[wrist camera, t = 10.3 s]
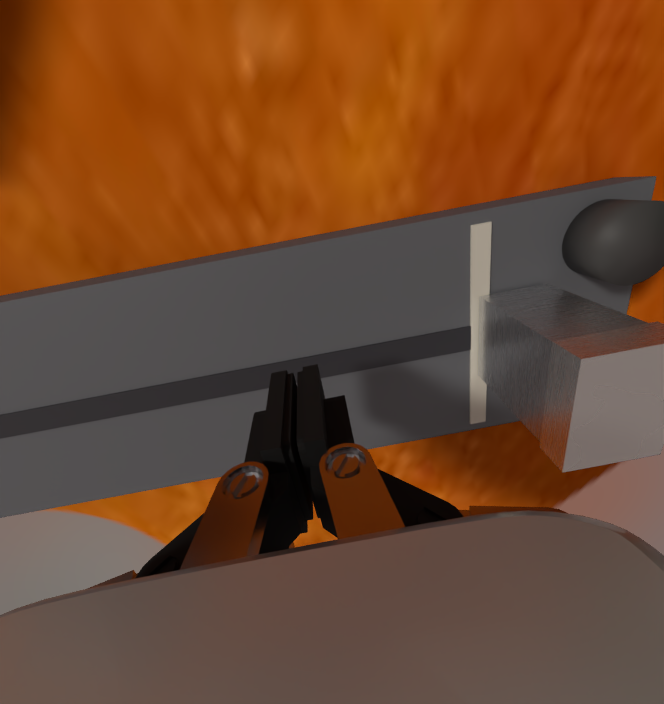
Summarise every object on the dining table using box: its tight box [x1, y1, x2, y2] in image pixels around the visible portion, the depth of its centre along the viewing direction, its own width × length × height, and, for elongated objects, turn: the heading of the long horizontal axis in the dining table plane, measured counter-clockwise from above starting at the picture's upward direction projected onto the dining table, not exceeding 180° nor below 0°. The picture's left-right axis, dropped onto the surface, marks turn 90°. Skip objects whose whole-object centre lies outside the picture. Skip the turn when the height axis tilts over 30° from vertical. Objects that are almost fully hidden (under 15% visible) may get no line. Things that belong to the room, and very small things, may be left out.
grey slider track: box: [0, 176, 664, 518], centre depth 16 cm, size 11×36×4 cm, turn 100°
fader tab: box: [478, 284, 664, 473], centre depth 13 cm, size 4×3×6 cm
